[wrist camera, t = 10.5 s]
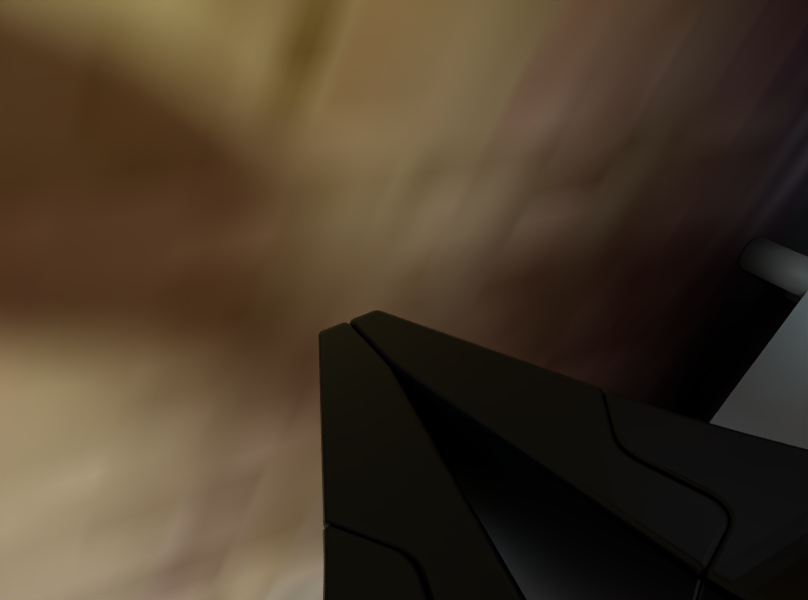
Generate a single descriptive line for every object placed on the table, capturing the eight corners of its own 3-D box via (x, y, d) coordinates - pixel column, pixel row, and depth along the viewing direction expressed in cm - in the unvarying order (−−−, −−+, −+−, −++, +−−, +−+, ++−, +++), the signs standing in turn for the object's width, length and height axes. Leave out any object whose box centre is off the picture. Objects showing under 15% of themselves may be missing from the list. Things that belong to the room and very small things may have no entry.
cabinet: (542, 536, 39) (717, 755, 29) (758, 226, 34) (1072, 358, 23) (617, 539, 44) (789, 727, 34) (816, 271, 39) (1095, 396, 28)
